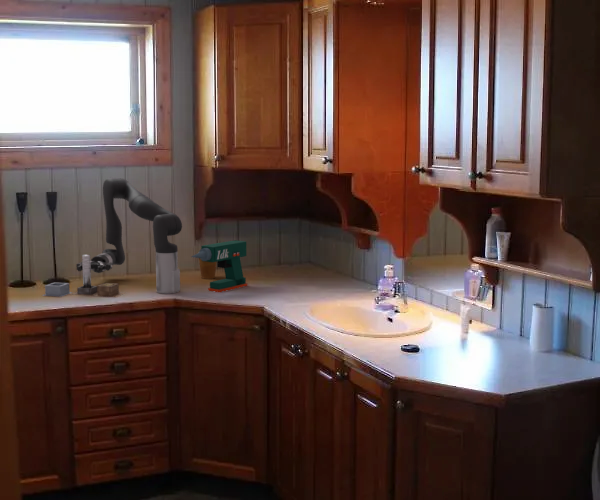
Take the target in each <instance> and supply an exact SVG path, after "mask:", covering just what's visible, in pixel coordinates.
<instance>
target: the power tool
mask: <svg viewBox="0 0 600 500" xmlns="http://www.w3.org/2000/svg"><path fill="white" fill-rule="evenodd" d="M243 257H247V241H246V240H230V241H229V240H228V241H223V242H217V243H211V244H210V243H209V244H205V245H204V244H203V245H201V246H200V250H199V251H198V253H195V254H193V255H192V256H191V258H195V259H199V258H200V259H201V260H202V261H206V262H217V263H216V268H219V269H223V270H224V274H225V278H222V279H219V280H212V281H210V282H209V287H208V288H207V291H208V290H209V291H208V292H213V291H215V293H223V292H222V291H224V292H227V291H226V290H228V291H232V290H236V289H235V288H237V289H240V288H239V287H241V288H244V287H243V286H245V287H248V283H247V279H246V278H247V277H244V273H243V267H242V262H241V258H243ZM231 289H232V290H231Z"/></svg>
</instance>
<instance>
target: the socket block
mask: <svg viewBox="0 0 600 500" xmlns="http://www.w3.org/2000/svg"><path fill="white" fill-rule="evenodd" d="M104 284H114V285H111V286H102V285H104ZM119 284H120V283H113V282H110V283H109V282H104V283H101V284H98V285H91V288H83V285H81V286H79V287H77V288H76V289H77V291H76V292H73V293H70V296H72V295H74V296H89V297H103V298H104V297H105V298H118V297H121V296H122V295H125V294H126V292H120V290H119Z"/></svg>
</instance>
